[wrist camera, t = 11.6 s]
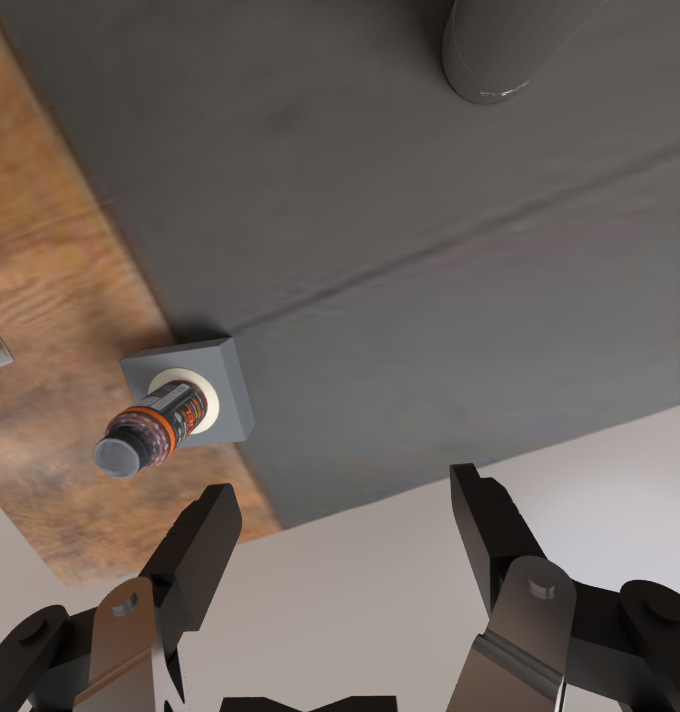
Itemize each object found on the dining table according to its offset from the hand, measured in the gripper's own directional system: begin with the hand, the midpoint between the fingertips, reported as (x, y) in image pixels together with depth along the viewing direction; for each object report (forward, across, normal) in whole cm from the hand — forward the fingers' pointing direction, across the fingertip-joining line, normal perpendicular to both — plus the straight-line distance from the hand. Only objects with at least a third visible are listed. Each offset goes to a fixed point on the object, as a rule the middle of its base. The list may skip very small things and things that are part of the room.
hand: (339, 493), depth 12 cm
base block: (+28, +21, +6) cm, 35 cm away
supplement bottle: (+24, +21, +5) cm, 32 cm away
